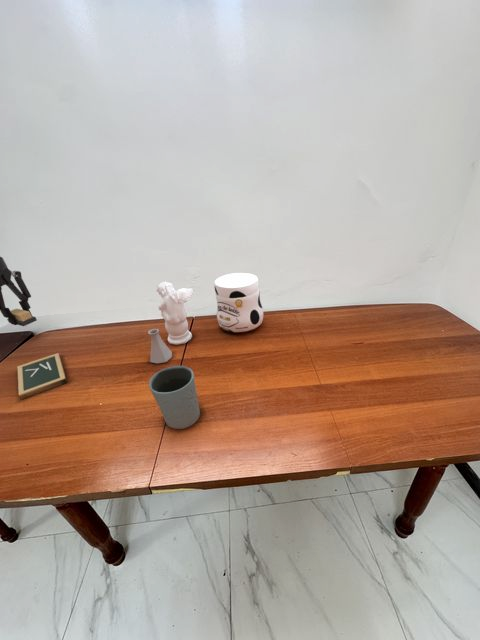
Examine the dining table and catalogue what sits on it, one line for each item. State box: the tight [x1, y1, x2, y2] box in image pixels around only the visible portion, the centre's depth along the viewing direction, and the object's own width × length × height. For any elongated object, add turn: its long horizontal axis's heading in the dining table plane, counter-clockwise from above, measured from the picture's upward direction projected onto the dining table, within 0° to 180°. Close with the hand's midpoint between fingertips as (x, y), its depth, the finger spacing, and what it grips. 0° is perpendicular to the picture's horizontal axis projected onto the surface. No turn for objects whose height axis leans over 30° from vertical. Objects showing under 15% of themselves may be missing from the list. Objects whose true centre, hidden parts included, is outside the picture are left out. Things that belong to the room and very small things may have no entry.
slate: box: [16, 352, 68, 400], centre depth 91 cm, size 18×12×2 cm, turn 37°
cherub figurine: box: [156, 281, 195, 346], centre depth 100 cm, size 12×12×22 cm
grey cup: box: [148, 365, 201, 430], centre depth 70 cm, size 10×10×12 cm
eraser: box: [6, 308, 38, 327], centre depth 109 cm, size 9×5×4 cm, turn 66°
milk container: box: [213, 272, 264, 334], centre depth 107 cm, size 17×17×18 cm
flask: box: [147, 328, 173, 364], centre depth 94 cm, size 7×7×10 cm
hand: (22, 320), depth 110 cm, fingers closed on eraser, 5 cm apart
